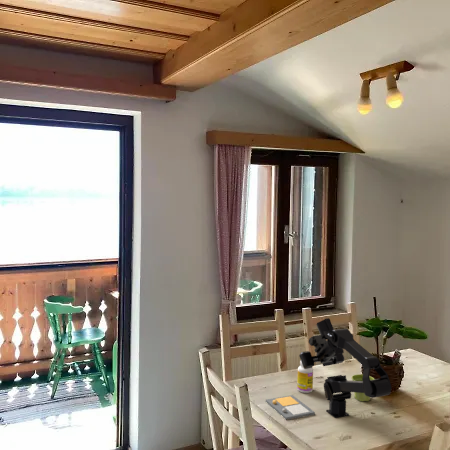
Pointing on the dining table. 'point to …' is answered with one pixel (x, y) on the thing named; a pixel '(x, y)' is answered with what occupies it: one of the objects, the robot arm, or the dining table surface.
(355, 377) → the plant pot
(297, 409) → the board
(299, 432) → the dining table surface
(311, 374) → the supplement bottle
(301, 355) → the robot arm
